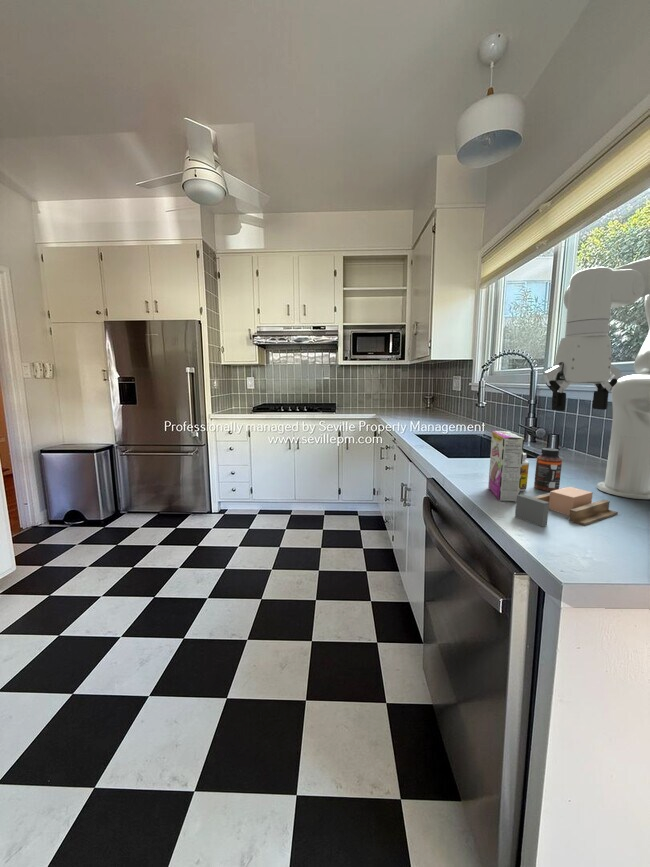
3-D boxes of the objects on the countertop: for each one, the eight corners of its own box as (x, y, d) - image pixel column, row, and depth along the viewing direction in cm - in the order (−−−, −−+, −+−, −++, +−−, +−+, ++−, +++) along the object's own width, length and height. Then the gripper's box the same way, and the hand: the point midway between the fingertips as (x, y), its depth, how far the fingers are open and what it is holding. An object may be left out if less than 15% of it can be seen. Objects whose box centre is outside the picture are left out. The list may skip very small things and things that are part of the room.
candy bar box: (486, 488, 98) (491, 430, 95) (505, 489, 97) (510, 431, 94) (498, 501, 87) (503, 436, 84) (519, 503, 86) (525, 437, 84)
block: (567, 504, 86) (569, 486, 85) (590, 510, 81) (592, 492, 81) (548, 509, 82) (550, 491, 81) (571, 516, 78) (573, 497, 77)
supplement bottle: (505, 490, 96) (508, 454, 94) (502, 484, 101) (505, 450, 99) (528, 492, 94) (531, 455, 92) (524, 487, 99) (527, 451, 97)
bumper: (519, 515, 78) (521, 494, 77) (546, 525, 73) (549, 502, 72) (514, 516, 77) (516, 495, 76) (542, 526, 72) (544, 503, 71)
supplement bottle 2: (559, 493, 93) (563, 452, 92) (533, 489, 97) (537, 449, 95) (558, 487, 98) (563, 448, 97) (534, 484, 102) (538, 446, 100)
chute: (555, 496, 91) (556, 487, 90) (617, 514, 79) (618, 503, 79) (522, 505, 84) (523, 495, 84) (584, 525, 72) (585, 514, 72)
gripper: (609, 332, 79) (601, 407, 82) (536, 333, 78) (530, 409, 81) (640, 327, 72) (630, 410, 75) (560, 329, 71) (553, 412, 74)
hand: (578, 409), depth 78 cm, fingers open, 9 cm apart
